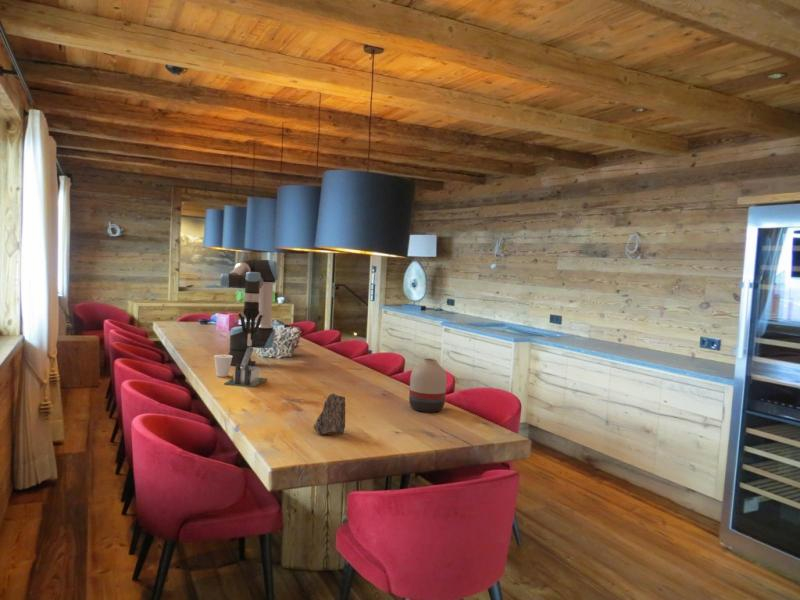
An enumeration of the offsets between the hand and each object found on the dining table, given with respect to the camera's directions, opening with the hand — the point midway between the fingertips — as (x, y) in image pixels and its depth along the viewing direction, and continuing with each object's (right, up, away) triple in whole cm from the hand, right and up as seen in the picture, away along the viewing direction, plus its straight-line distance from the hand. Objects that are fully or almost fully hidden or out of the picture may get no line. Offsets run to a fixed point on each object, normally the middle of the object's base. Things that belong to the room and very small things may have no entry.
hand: (249, 345), depth 302 cm
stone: (+52, -28, -80) cm, 99 cm away
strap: (-1, -7, -3) cm, 8 cm away
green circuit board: (-1, -19, -1) cm, 19 cm away
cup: (-18, -18, +11) cm, 27 cm away
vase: (+92, -28, -33) cm, 102 cm away
